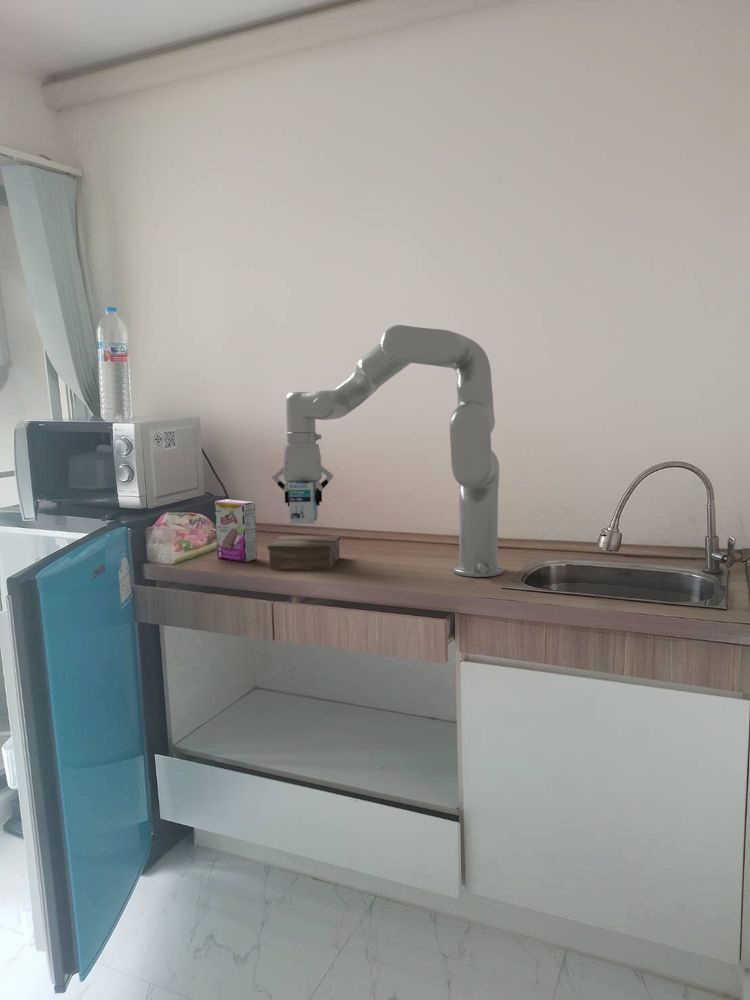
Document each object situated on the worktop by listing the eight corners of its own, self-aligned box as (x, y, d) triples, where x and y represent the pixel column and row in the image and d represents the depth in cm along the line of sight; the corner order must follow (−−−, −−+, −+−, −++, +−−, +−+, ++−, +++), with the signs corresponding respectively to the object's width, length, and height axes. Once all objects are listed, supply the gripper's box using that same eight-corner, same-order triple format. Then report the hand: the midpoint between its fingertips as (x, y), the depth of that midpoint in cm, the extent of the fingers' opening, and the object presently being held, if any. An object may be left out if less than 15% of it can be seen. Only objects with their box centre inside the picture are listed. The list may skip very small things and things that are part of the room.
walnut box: (330, 570, 190) (330, 546, 189) (268, 570, 192) (267, 545, 191) (340, 558, 204) (340, 535, 203) (282, 558, 206) (282, 535, 206)
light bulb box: (314, 524, 191) (313, 483, 190) (288, 524, 191) (287, 483, 190) (318, 517, 202) (317, 478, 200) (294, 517, 202) (293, 478, 200)
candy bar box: (216, 558, 206) (213, 501, 204) (229, 555, 210) (226, 498, 208) (245, 563, 200) (242, 503, 197) (258, 559, 204) (255, 501, 202)
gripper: (333, 437, 198) (335, 502, 201) (268, 439, 196) (271, 504, 199) (335, 439, 191) (336, 506, 193) (268, 440, 189) (270, 508, 191)
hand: (303, 504), depth 196 cm, fingers closed on light bulb box, 7 cm apart
